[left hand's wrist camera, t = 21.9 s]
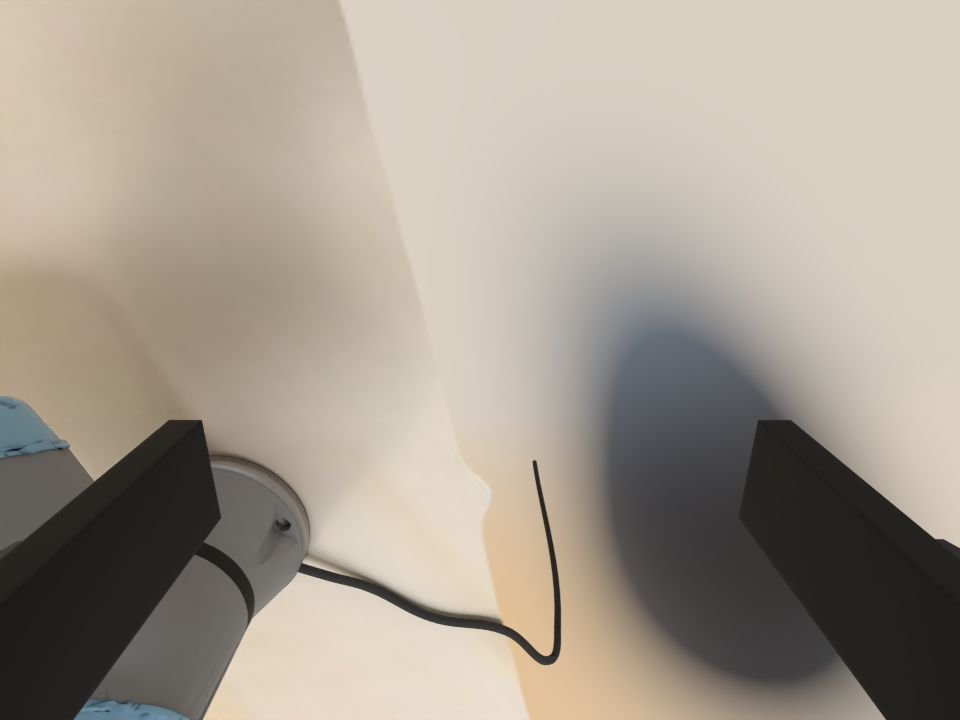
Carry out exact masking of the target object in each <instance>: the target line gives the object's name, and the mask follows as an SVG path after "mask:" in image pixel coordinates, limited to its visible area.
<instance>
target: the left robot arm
mask: <svg viewBox="0 0 960 720" xmlns="http://www.w3.org/2000/svg"><path fill="white" fill-rule="evenodd" d="M69 447H70V445H69V444H68V442H66V441H65V440H61V439H60V438H59V437H58V436H57V435H56V434H55V433H54V432H53V431H52V430H51V429H50V428H49V427H48V426H47V425H46V424H45V423H44V422H43V420H42V419H41V418H40V417H39V416H38V415H37V414H36V413H35V411H34V410H33V409H32V408H31V407H30V406H29V405H27V404H26V403H24V402H23V401H21V400H18V399H16V398H12V397H8V396H0V720H203V718H204V716H205V714H206V712H207V710H208V708H209V706H210V704H211V701H212V699H213V697H214V695H215V693H216V691H217V689H218V687H219V685H220V683H221V681H222V679H223V677H224V675H225V673H226V671H227V668H228V666H229V664H230V662H231V660H232V658H233V656H234V654H235V652H236V650H237V648H238V646H239V644H240V642H241V640H242V638H243V635H244V633H245V631H246V629H247V627H248V625H249V623H250V622H251V620H252V618H253V617H254V616H255V615H256V614H257V613H258V612H259V611H260V610H261V609H263V608H264V607H265V606H266V605H267V604H268V603H269V602H270V601H271V600H272V599H273V598H274V597H275V596H276V595H277V594H278V593H279V592H280V591H281V590H282V589H283V588H285V587H286V586H287V585H288V584H289V583H290V582H291V581H292V579H293V578H294V577H295V575H296V574H297V572H299V573H303V574H306V575H310V576H313V577H317V578H320V579H324V580H327V581H331V582H335V583H339V584H343V585H347V586H351V587H355V588H359V589H362V590H365V591H367V592H370V593H372V594H375V595H377V596H379V597H381V598H383V599H385V600H387V601H389V602H391V603H392V604H394V605H396V606H398V607H400V608H401V609H403V610H405V611H407V612H409V613H411V614H413V615H415V616H417V617H420V618H422V619H425V620H428V621H431V622H434V623H438V624H442V625H447V626H454V627H464V628H475V629H483V630H489V631H494V632H497V633H500V634H503V635H506V636H508V637H510V638H511V639H513V640H514V641H516V642H517V643H518V644H519V645H520V646H521V647H522V648H523V649H524V650H525V651H526V652H527V653H528V654H529V655H530V656H531V657H532V658H533V659H534V660H535V661H537V662H538V663H540V664H542V665H550V664H553V663H554V662H555V661H556V660H557V659H558V657H559V655H560V650H561V598H560V586H559V576H558V569H557V562H556V556H555V551H554V545H553V540H552V535H551V530H550V525H549V521H548V516H547V511H546V507H545V502H544V497H543V493H542V488H541V483H540V478H539V472H538V467H537V461H536V460H533V462H532V463H533V469H534V476H535V481H536V487H537V492H538V497H539V502H540V507H541V512H542V517H543V522H544V527H545V532H546V537H547V543H548V548H549V555H550V561H551V569H552V578H553V589H554V645H553V650H552V653H551V654H550V655H549V656H543V655H541V654H540V653H538V652H537V651H536V650H535V649H534V648H533V647H532V646H531V645H530V644H529V643H528V642H527V641H526V640H525V639H524V638H523V637H522V636H521V635H520V634H519V633H517V632H516V631H514V630H513V629H511V628H509V627H507V626H504V625H501V624H498V623H494V622H489V621H483V620H475V619H463V618H454V617H447V616H442V615H438V614H435V613H432V612H429V611H426V610H424V609H421V608H419V607H417V606H415V605H413V604H411V603H409V602H407V601H405V600H403V599H402V598H400V597H398V596H396V595H395V594H393V593H391V592H389V591H387V590H385V589H383V588H381V587H379V586H377V585H374V584H372V583H369V582H366V581H363V580H360V579H357V578H353V577H349V576H345V575H341V574H337V573H333V572H330V571H326V570H323V569H319V568H316V567H312V566H309V565H306V564H302V561H303V559H304V557H305V554H306V552H307V549H308V545H309V539H310V530H309V523H308V518H307V516H306V513H305V510H304V508H303V506H302V504H301V502H300V501H299V499H298V498H297V496H296V495H295V494H294V492H293V491H292V490H291V489H290V488H289V487H288V486H287V485H286V484H285V483H284V482H283V481H282V480H281V479H279V478H278V477H277V476H275V475H274V474H272V473H271V472H269V471H268V470H266V469H264V468H262V467H260V466H258V465H256V464H253V463H250V462H248V461H245V460H241V459H237V458H232V457H225V456H209V454H208V449H207V444H206V439H205V434H204V429H203V424H202V420H169V421H168V422H166V423H165V424H164V425H163V426H162V427H160V428H159V429H158V430H157V431H155V432H154V433H153V434H152V435H151V436H149V437H148V438H147V439H146V440H145V441H143V442H142V443H141V444H140V445H139V446H137V447H136V448H135V449H134V450H132V451H131V452H130V453H129V454H128V455H126V456H125V457H124V458H123V459H122V460H120V461H119V462H118V463H117V464H115V465H114V466H113V467H112V468H111V469H109V470H108V471H107V472H106V473H105V474H103V475H102V476H101V477H100V478H98V479H97V480H96V481H95V482H94V481H93V479H92V478H91V477H90V475H89V474H88V473H87V472H86V470H85V469H84V468H83V466H82V465H81V464H80V463H79V461H78V460H77V459H76V457H75V456H74V455H73V454H72V452H71V451H70V450H69ZM739 519H740V520H741V522H742V523H743V525H744V526H745V527H746V529H747V530H748V531H749V533H750V534H751V535H752V537H753V538H754V540H755V541H756V542H757V544H758V545H759V546H760V548H761V549H762V551H763V552H764V553H765V555H766V556H767V557H768V559H769V560H770V561H771V563H772V564H773V566H774V567H775V568H776V570H777V571H778V572H779V574H780V575H781V577H782V578H783V579H784V581H785V582H786V583H787V585H788V586H789V587H790V589H791V590H792V592H793V593H794V594H795V596H796V597H797V598H798V600H799V601H800V602H801V604H802V605H803V607H804V608H805V609H806V611H807V612H808V613H809V615H810V616H811V618H812V619H813V620H814V622H815V623H816V624H817V626H818V627H819V629H820V630H821V631H822V633H823V634H824V635H825V637H826V638H827V639H828V641H829V642H830V644H831V645H832V646H833V648H834V649H835V650H836V652H837V653H838V655H839V656H840V657H841V659H842V660H843V661H844V663H845V664H846V665H847V667H848V668H849V670H850V671H851V672H852V674H853V675H854V676H855V678H856V679H857V681H858V682H859V683H860V685H861V686H862V687H863V689H864V690H865V691H866V693H867V694H868V696H869V697H870V698H871V700H872V701H873V702H874V704H875V705H876V706H877V708H878V709H879V711H880V712H881V713H882V715H883V716H884V717H885V719H886V720H960V548H958V547H957V546H955V545H953V544H951V543H949V542H947V541H946V540H944V539H934V538H933V537H932V536H931V535H929V534H928V533H927V532H926V531H925V530H923V529H922V528H921V527H920V526H919V525H917V524H916V523H915V522H914V521H912V520H911V519H910V518H909V517H908V516H906V515H905V514H904V513H903V512H901V511H900V510H899V509H898V508H897V507H896V506H894V505H893V504H892V503H891V502H889V501H888V500H887V499H886V498H885V497H883V496H882V495H881V494H880V493H879V492H877V491H876V490H875V489H874V488H872V487H871V486H870V485H869V484H868V483H866V482H865V481H864V480H863V479H862V478H860V477H859V476H858V475H857V474H855V473H854V472H853V471H852V470H851V469H849V468H848V467H847V466H846V465H845V464H843V463H842V462H841V461H840V460H838V459H837V458H836V457H835V456H834V455H832V454H831V453H830V452H829V451H827V450H826V449H825V448H824V447H823V446H821V445H820V444H819V443H818V442H817V441H815V440H814V439H813V438H812V437H811V436H809V435H808V434H807V433H806V432H805V431H803V430H802V429H801V428H800V427H798V426H797V425H796V424H795V423H794V422H792V421H791V420H758V424H757V429H756V434H755V439H754V444H753V449H752V454H751V458H750V463H749V468H748V474H747V478H746V483H745V488H744V493H743V498H742V503H741V508H740V513H739Z"/></svg>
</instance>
